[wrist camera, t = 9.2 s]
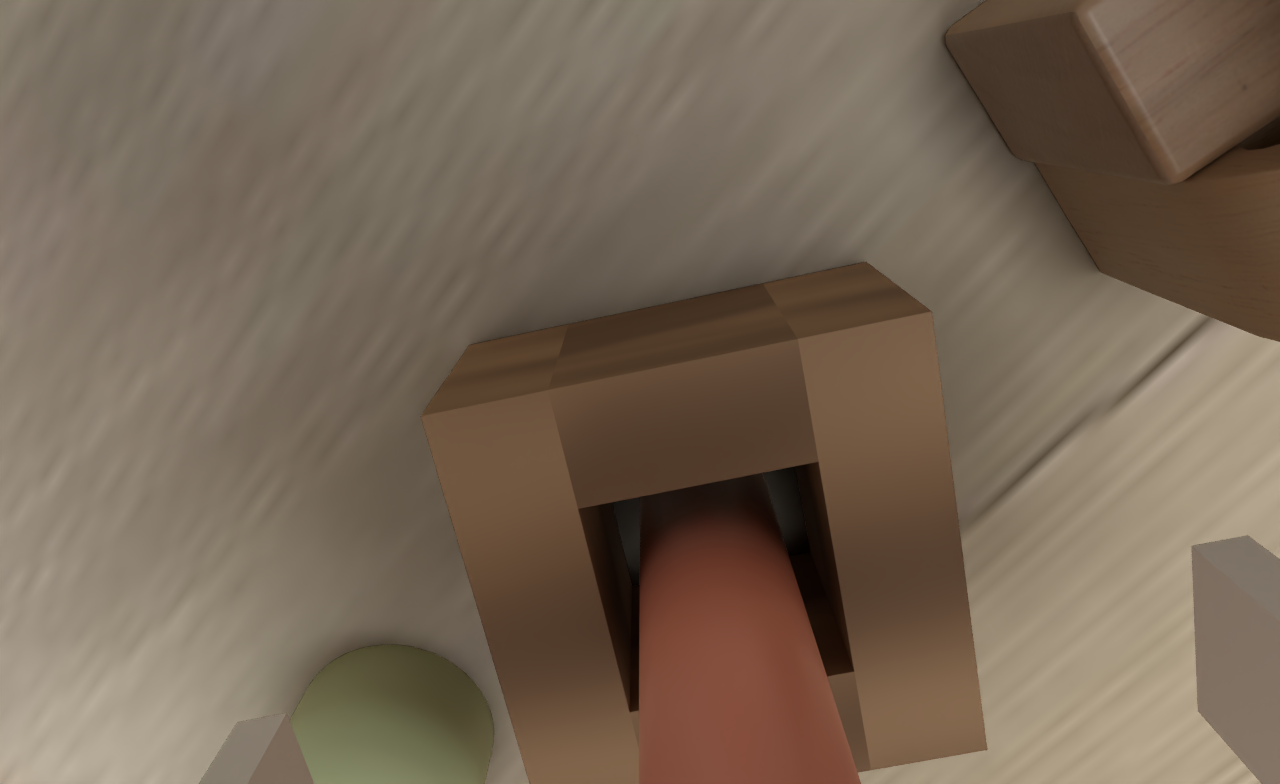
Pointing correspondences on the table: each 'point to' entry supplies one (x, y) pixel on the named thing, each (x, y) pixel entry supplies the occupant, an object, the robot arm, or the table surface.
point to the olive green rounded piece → (394, 720)
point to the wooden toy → (1148, 136)
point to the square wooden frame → (700, 454)
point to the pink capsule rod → (729, 648)
